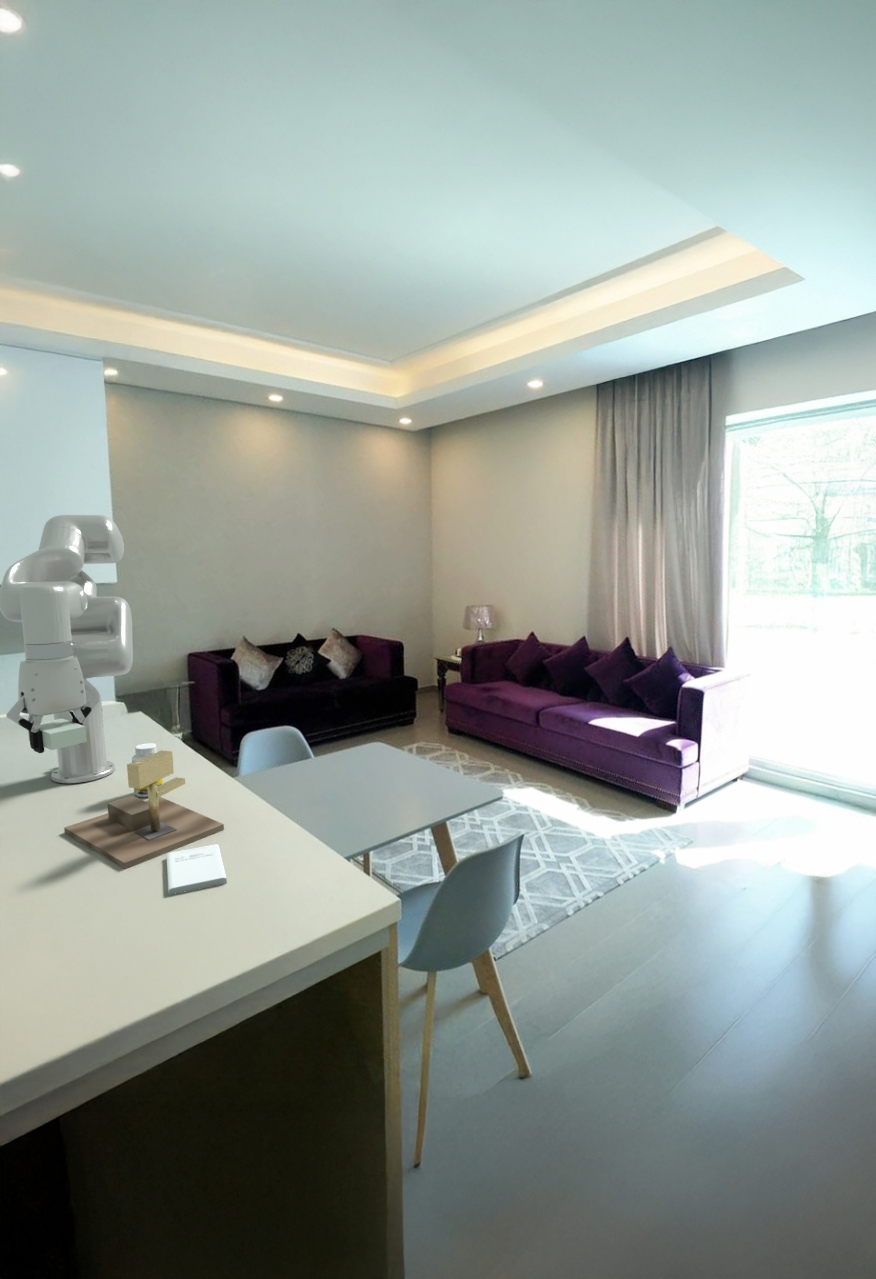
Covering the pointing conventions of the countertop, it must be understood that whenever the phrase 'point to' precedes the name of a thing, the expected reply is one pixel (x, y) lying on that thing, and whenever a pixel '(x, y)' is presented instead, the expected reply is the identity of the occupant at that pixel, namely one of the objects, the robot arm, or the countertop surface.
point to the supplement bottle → (141, 752)
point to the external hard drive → (195, 869)
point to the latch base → (141, 830)
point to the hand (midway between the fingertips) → (58, 746)
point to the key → (153, 780)
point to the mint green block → (62, 733)
